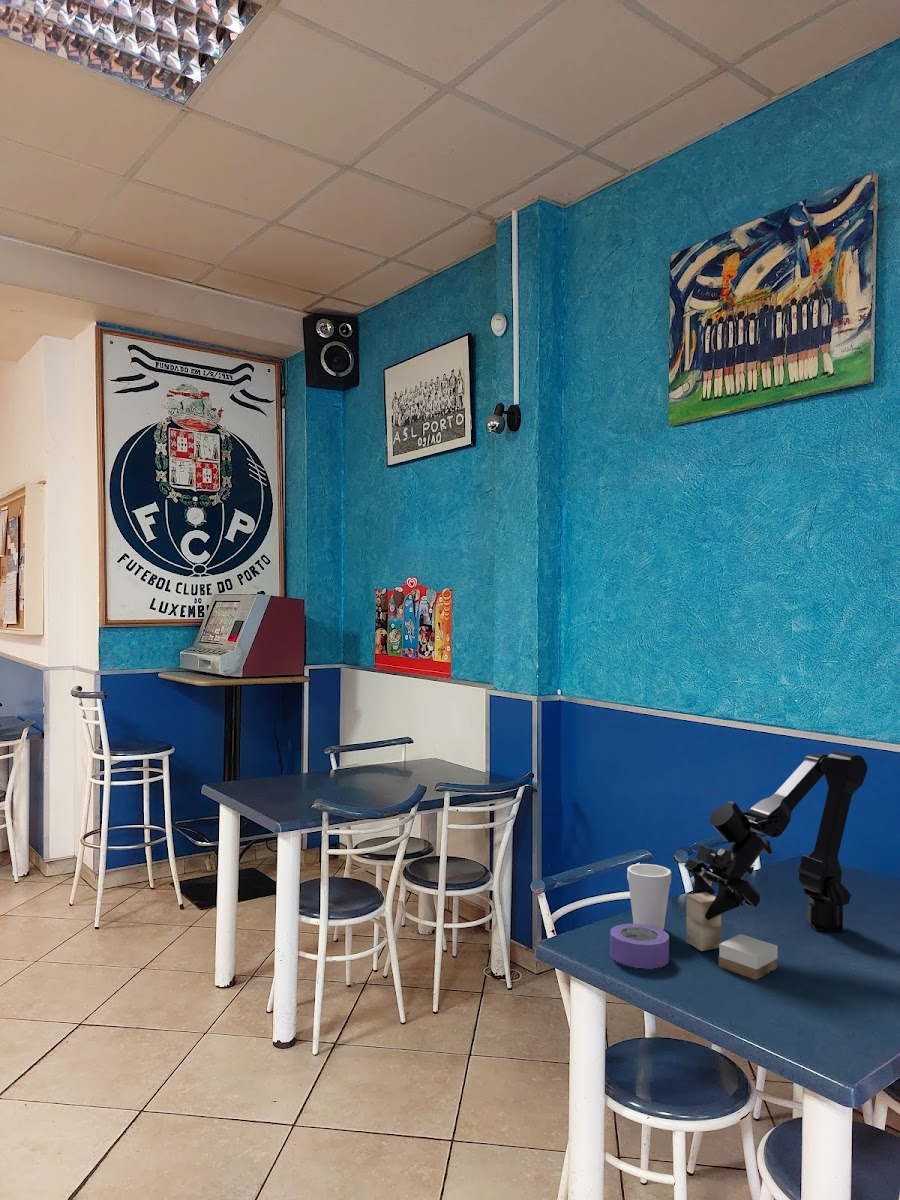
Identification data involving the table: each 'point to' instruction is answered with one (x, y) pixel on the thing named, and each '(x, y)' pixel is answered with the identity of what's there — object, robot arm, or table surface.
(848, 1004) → the table surface
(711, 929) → the beech pillar
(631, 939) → the tape roll
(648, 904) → the foam cup
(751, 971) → the walnut slab
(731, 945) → the cream slab
